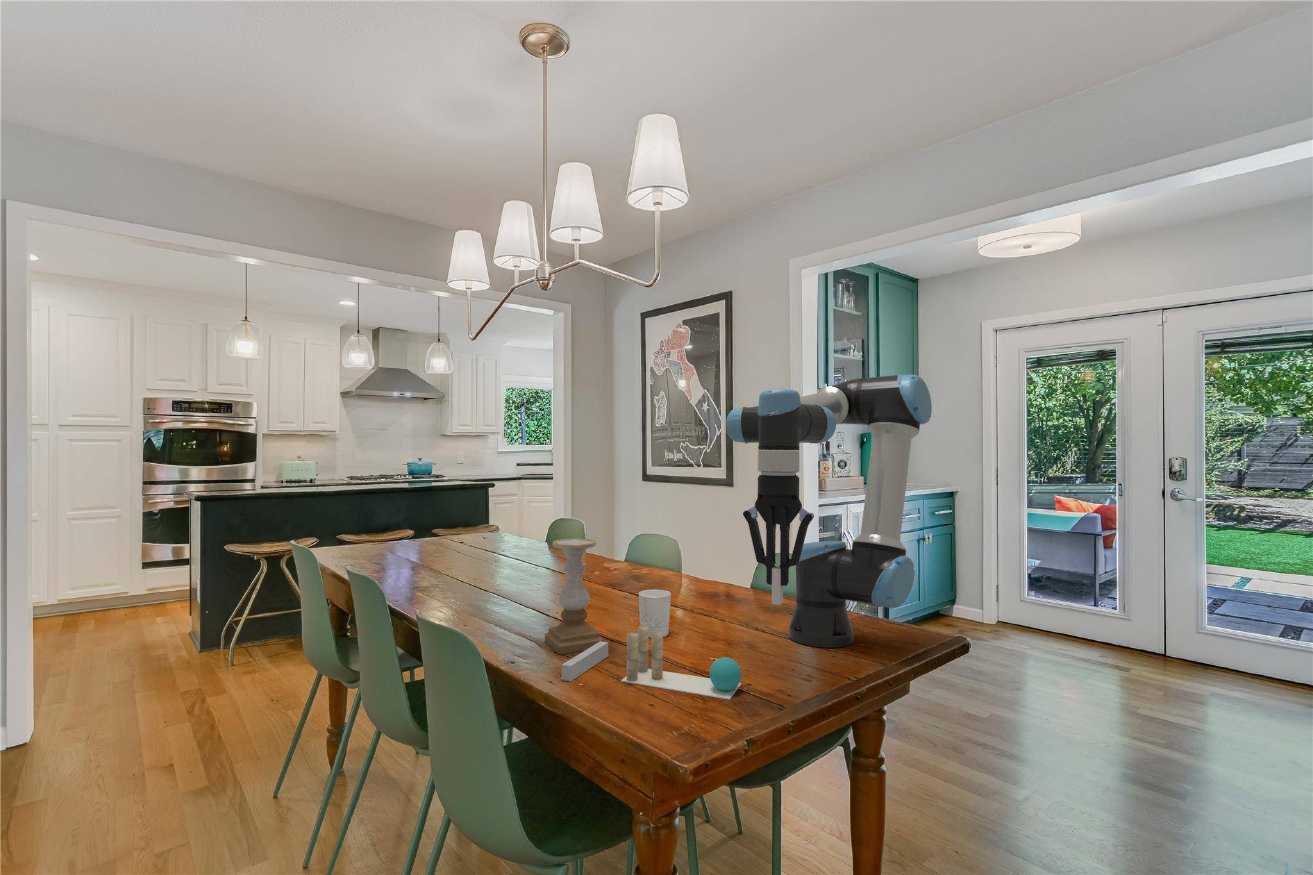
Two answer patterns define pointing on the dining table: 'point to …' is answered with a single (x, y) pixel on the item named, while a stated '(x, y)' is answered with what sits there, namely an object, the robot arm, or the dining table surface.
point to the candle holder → (573, 603)
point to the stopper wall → (584, 661)
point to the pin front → (657, 655)
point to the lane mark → (683, 684)
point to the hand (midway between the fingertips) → (777, 602)
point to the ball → (725, 674)
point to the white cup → (655, 610)
